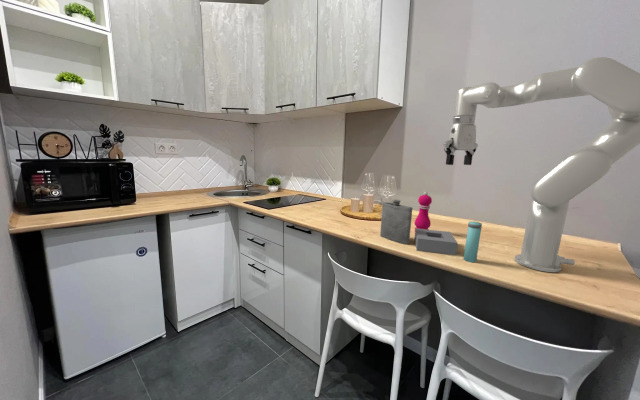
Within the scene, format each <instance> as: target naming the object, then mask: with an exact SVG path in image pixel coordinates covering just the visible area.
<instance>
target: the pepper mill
mask: <svg viewBox="0 0 640 400" xmlns="http://www.w3.org/2000/svg"><path fill="white" fill-rule="evenodd" d="M417 199H418V201H417V202H418V208H419V210H418V214H417V216H416V218H415V220H414V226H415V228H417V229H426V230H430V227H431V225H432V224H431V219H430V215H429V209H430V208H431V204H432V202H433V200H432V197H431V195H428V191H424V192H423V195H422V194H421V195H420V196H419V197H418V198H417Z"/></svg>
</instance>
